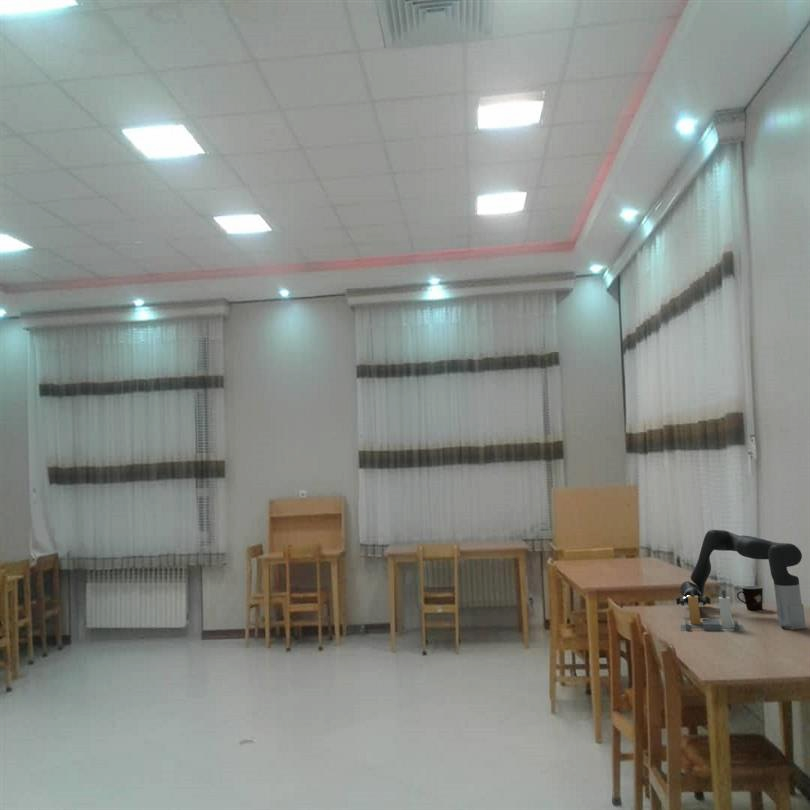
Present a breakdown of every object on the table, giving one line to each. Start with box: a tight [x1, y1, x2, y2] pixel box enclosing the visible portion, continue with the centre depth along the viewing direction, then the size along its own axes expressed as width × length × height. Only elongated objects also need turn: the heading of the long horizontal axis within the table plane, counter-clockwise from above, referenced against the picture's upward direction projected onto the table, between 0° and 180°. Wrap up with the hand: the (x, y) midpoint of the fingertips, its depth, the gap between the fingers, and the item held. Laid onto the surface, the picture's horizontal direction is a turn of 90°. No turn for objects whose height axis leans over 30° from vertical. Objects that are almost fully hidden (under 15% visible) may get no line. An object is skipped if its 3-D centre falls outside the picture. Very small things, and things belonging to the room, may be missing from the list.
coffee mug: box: [736, 585, 764, 612], centre depth 346 cm, size 12×9×10 cm
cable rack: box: [680, 618, 745, 632], centre depth 310 cm, size 24×12×4 cm, turn 70°
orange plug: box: [688, 589, 702, 625], centre depth 322 cm, size 4×4×15 cm
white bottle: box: [718, 589, 734, 629], centre depth 309 cm, size 4×4×15 cm
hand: (693, 603), depth 333 cm, fingers open, 8 cm apart
